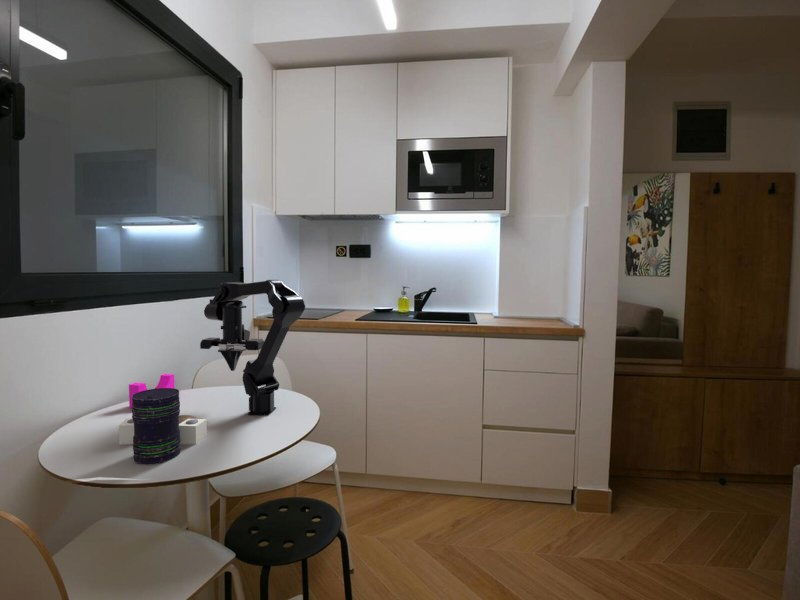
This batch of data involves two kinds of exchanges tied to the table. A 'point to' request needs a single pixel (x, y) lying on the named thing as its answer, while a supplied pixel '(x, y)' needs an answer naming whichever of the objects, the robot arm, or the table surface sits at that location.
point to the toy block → (164, 382)
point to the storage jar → (156, 425)
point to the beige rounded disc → (185, 418)
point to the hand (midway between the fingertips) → (233, 370)
